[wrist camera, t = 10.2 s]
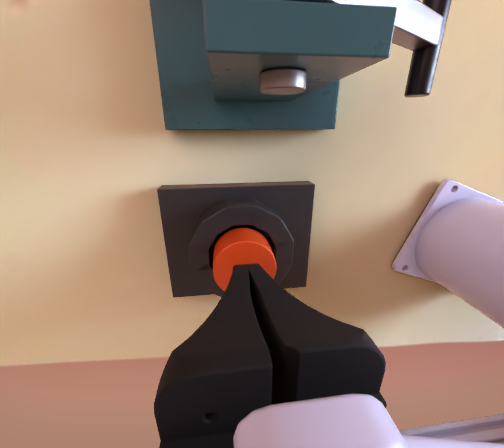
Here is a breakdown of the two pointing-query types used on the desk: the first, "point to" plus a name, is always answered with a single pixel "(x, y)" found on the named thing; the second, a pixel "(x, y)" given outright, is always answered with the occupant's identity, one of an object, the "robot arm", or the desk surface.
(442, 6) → the lever
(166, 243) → the control block
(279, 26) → the bracket
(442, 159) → the desk surface
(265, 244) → the button
